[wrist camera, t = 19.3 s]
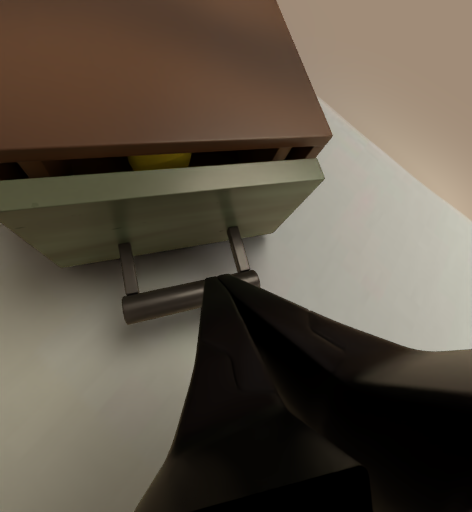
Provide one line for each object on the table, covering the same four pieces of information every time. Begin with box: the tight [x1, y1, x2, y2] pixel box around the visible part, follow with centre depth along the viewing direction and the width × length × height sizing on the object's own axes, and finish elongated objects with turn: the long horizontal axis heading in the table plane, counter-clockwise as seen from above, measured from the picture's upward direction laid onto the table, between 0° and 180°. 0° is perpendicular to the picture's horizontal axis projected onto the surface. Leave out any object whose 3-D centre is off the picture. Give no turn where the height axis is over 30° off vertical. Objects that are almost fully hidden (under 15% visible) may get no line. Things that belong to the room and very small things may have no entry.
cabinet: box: [0, 0, 333, 181], centre depth 16 cm, size 13×14×8 cm
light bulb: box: [128, 153, 192, 171], centre depth 16 cm, size 3×6×4 cm, turn 144°
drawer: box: [0, 147, 325, 325], centre depth 15 cm, size 16×13×7 cm
